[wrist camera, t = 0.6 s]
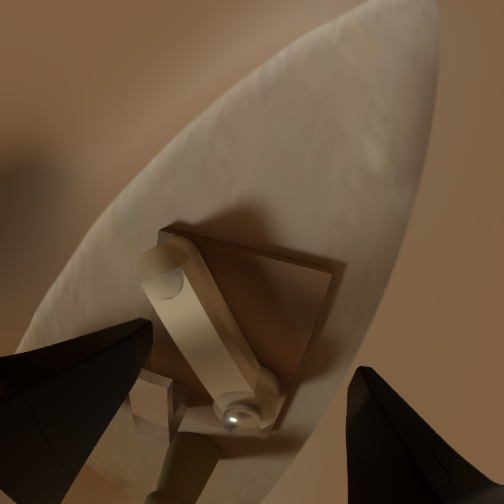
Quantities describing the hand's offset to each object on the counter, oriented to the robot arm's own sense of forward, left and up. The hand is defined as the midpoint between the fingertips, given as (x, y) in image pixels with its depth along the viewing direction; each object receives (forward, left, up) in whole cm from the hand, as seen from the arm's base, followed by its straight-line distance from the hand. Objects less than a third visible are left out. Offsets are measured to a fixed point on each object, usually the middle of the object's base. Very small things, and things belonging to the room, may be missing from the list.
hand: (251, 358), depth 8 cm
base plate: (-8, -4, -11) cm, 14 cm away
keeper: (-11, -6, -11) cm, 17 cm away
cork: (-20, -14, -11) cm, 27 cm away
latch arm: (-6, -2, -10) cm, 12 cm away
